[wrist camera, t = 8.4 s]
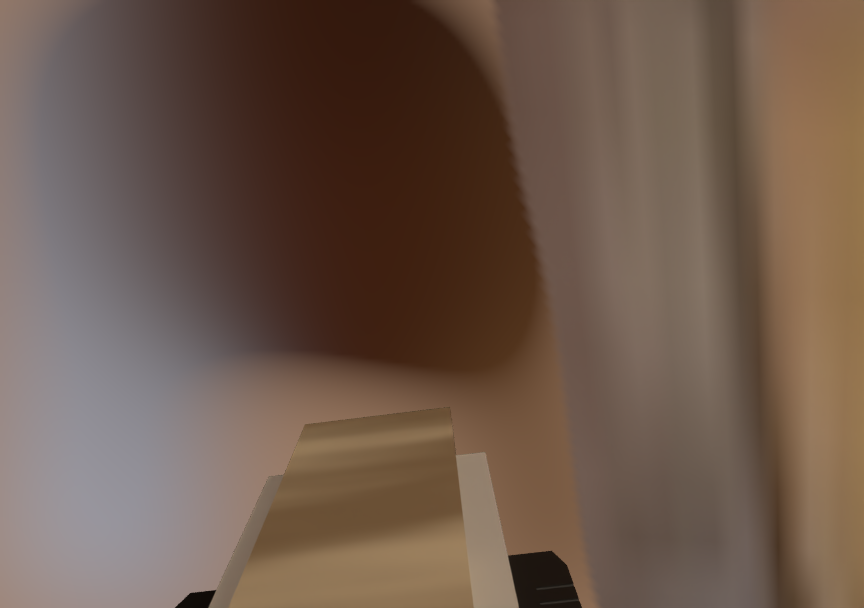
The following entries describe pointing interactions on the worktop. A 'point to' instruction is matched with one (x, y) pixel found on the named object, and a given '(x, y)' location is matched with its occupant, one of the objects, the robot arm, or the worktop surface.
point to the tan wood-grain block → (365, 520)
